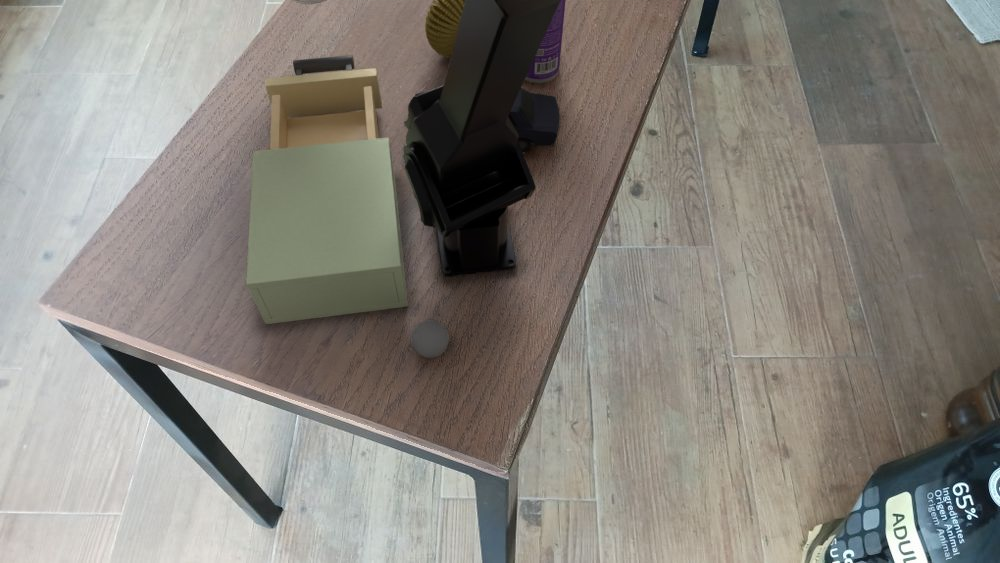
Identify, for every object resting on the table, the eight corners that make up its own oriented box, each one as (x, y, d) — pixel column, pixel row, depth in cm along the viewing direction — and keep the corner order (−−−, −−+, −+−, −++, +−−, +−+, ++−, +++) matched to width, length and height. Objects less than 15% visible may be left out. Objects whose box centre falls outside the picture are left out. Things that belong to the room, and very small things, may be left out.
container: (562, 59, 80) (575, -73, 68) (554, 86, 78) (565, -45, 65) (521, 52, 81) (526, -80, 68) (511, 79, 78) (515, -53, 66)
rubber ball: (451, 361, 59) (449, 343, 56) (414, 366, 58) (411, 348, 56) (447, 330, 60) (445, 310, 58) (411, 334, 60) (408, 315, 57)
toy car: (416, 112, 75) (412, 73, 71) (557, 114, 75) (560, 76, 71) (411, 152, 72) (406, 114, 68) (558, 155, 72) (562, 117, 68)
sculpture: (478, 29, 83) (476, -35, 76) (499, 47, 81) (500, -18, 75) (420, 57, 80) (414, -8, 73) (442, 76, 78) (437, 11, 72)
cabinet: (269, 195, 68) (252, 150, 64) (395, 181, 70) (388, 136, 65) (265, 324, 60) (245, 284, 56) (408, 306, 62) (400, 266, 57)
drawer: (276, 83, 76) (266, 50, 73) (379, 74, 77) (373, 40, 74) (273, 210, 66) (261, 179, 63) (390, 197, 67) (384, 166, 64)
